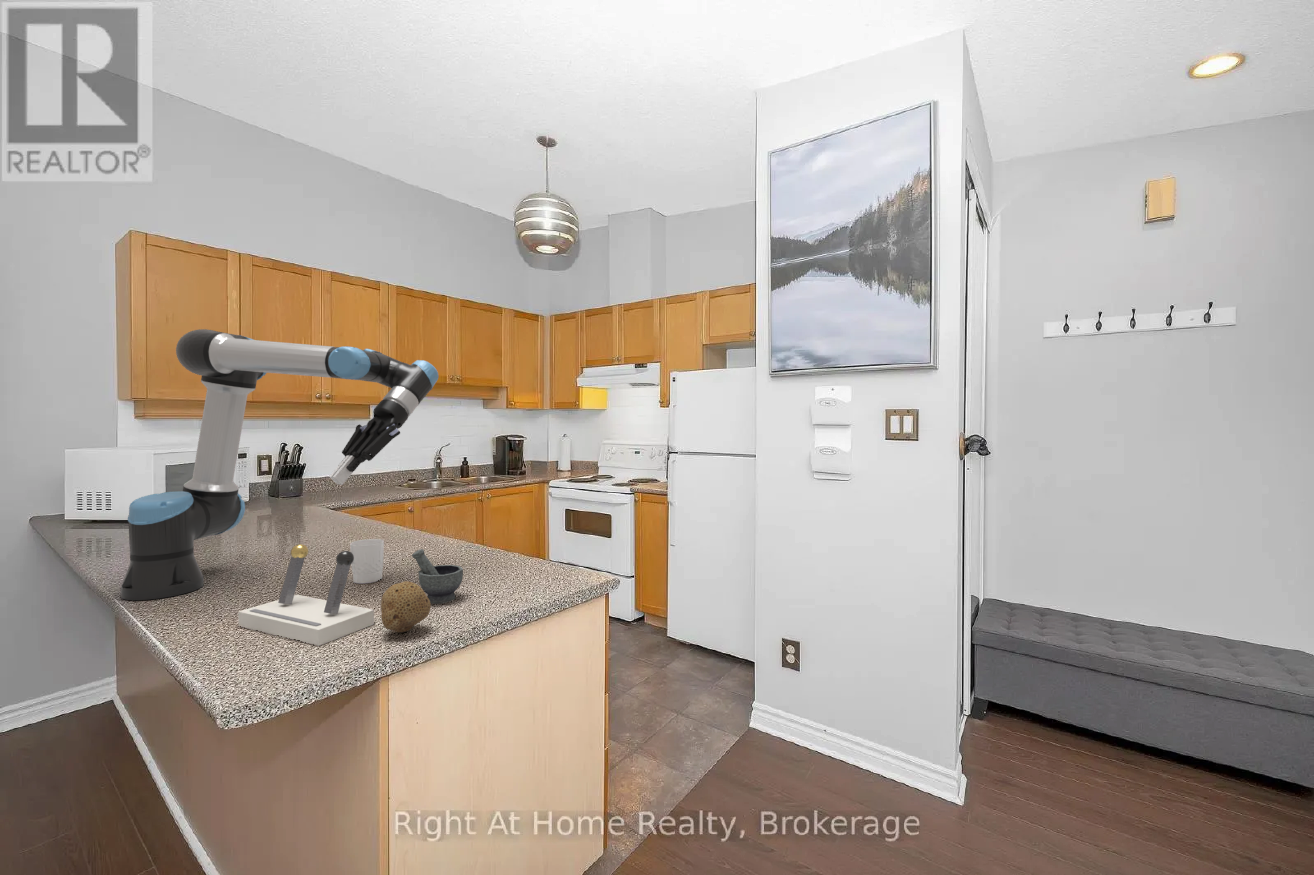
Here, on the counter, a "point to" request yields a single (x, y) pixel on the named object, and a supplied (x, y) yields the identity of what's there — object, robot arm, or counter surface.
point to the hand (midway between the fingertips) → (335, 480)
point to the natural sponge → (404, 606)
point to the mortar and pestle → (438, 579)
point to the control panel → (306, 620)
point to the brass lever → (293, 573)
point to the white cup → (367, 560)
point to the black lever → (338, 581)
